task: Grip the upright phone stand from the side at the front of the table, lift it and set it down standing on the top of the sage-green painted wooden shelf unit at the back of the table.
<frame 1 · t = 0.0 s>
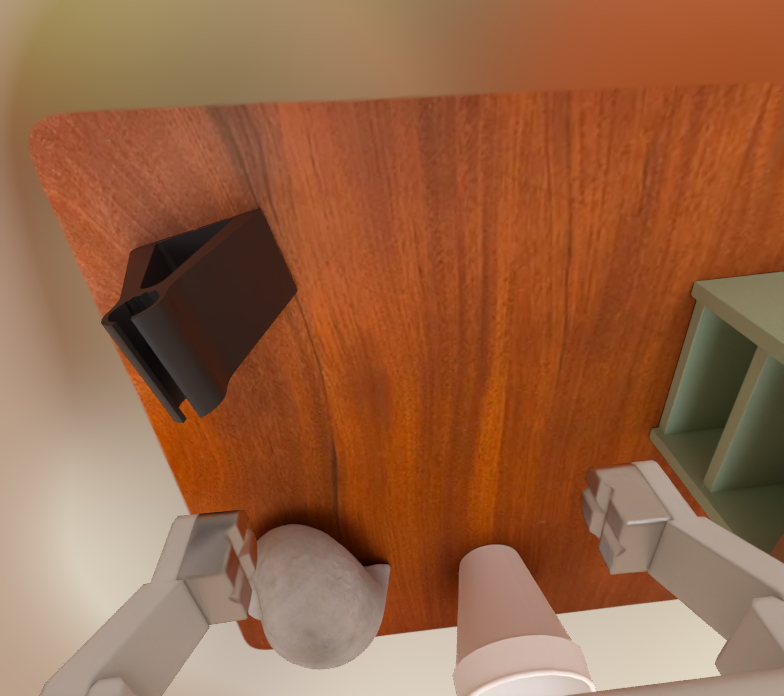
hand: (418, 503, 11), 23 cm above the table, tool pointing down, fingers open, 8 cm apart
phone stand: (219, 268, 32), on the table
cup: (488, 561, 53), on the table
seashell: (322, 554, 50), on the table
shelf: (727, 361, 40), on the table
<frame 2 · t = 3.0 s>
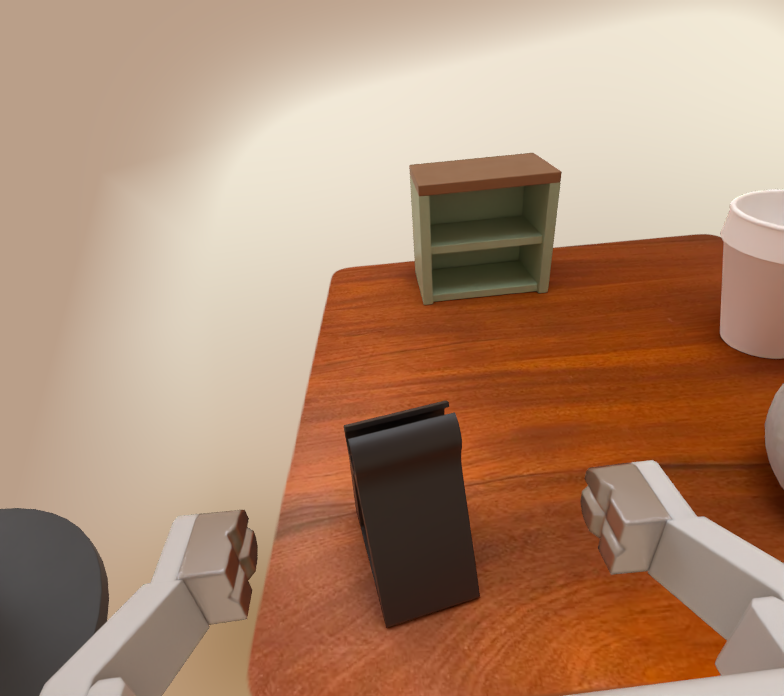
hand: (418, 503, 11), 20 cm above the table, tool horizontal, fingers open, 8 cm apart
phone stand: (412, 552, 33), on the table
cup: (757, 341, 49), on the table
shelf: (477, 281, 65), on the table
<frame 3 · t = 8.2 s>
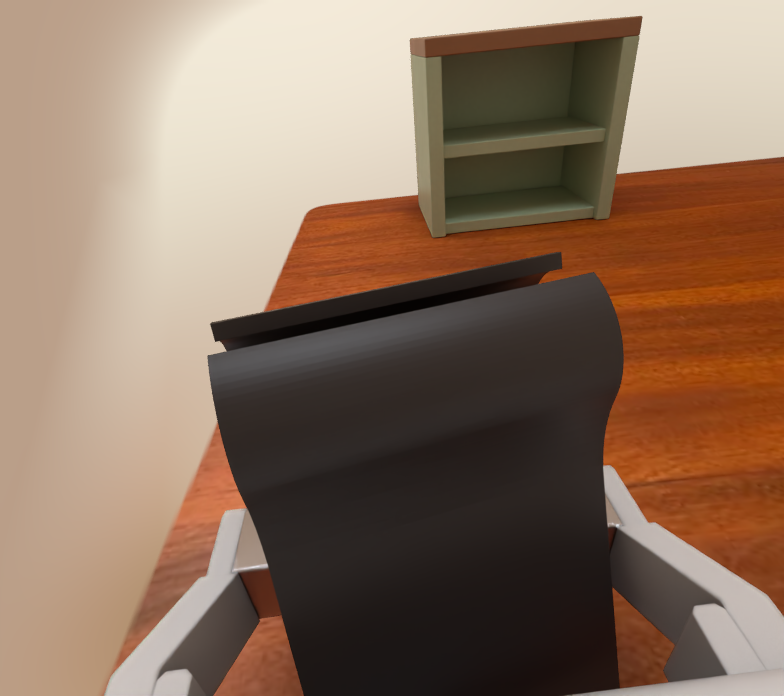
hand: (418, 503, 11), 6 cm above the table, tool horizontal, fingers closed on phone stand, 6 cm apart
phone stand: (434, 665, 14), on the table, touching gripper
shelf: (505, 211, 47), on the table
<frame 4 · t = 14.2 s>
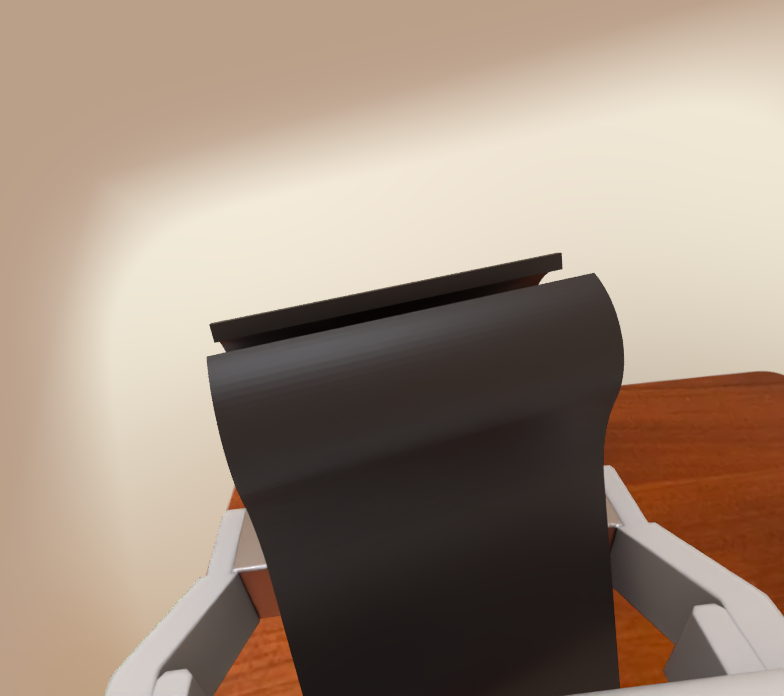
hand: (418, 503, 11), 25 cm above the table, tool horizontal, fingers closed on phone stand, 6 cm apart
phone stand: (434, 666, 14), point 19 cm above the table, touching gripper
when the fingers open (21 cm above the table, at t = 20.4 s): phone stand stays where it is, resting on shelf.
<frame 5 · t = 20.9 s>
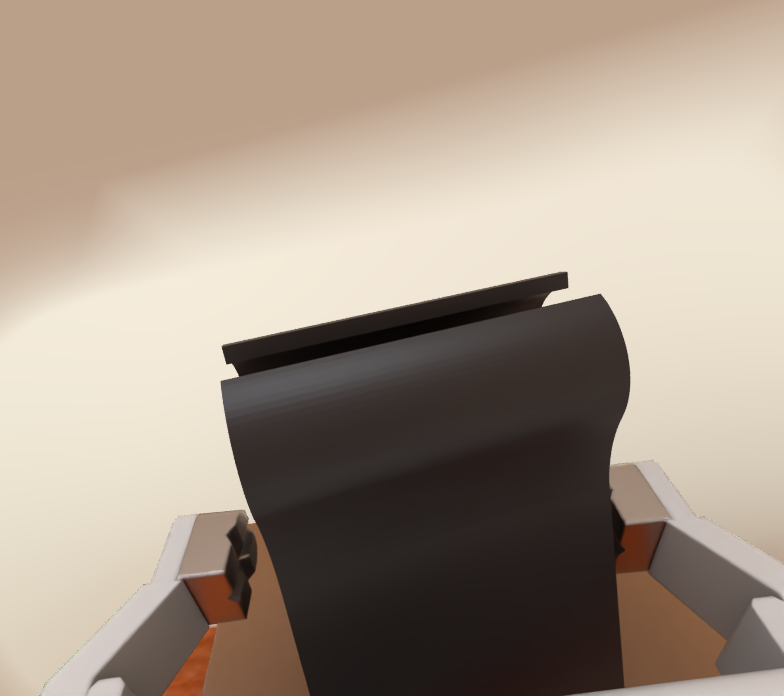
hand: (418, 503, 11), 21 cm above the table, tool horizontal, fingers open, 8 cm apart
phone stand: (440, 674, 14), point 15 cm above the table, touching shelf
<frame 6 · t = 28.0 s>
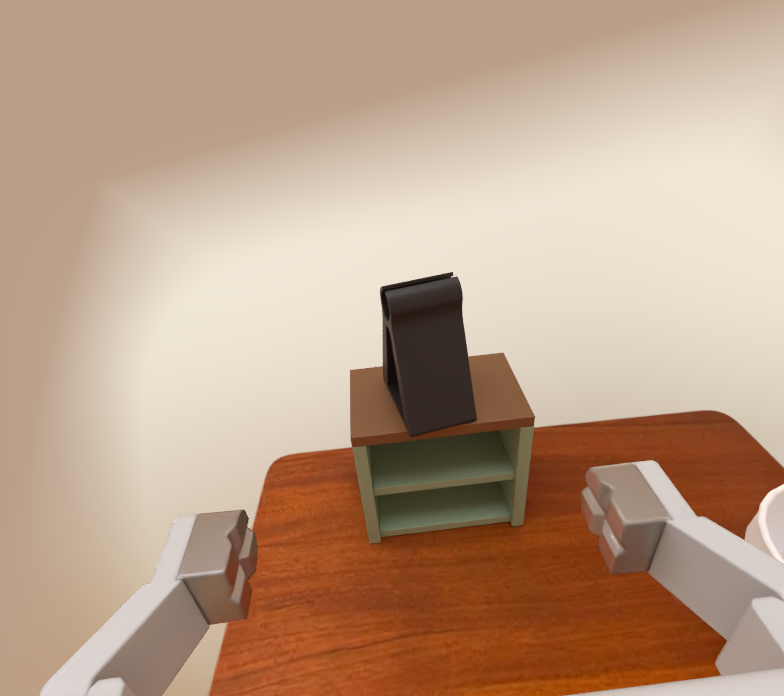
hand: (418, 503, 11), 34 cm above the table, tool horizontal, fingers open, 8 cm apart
phone stand: (426, 400, 44), point 15 cm above the table, touching shelf
shelf: (438, 495, 53), on the table
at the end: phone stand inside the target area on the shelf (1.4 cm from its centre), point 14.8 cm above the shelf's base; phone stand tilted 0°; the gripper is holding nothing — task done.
